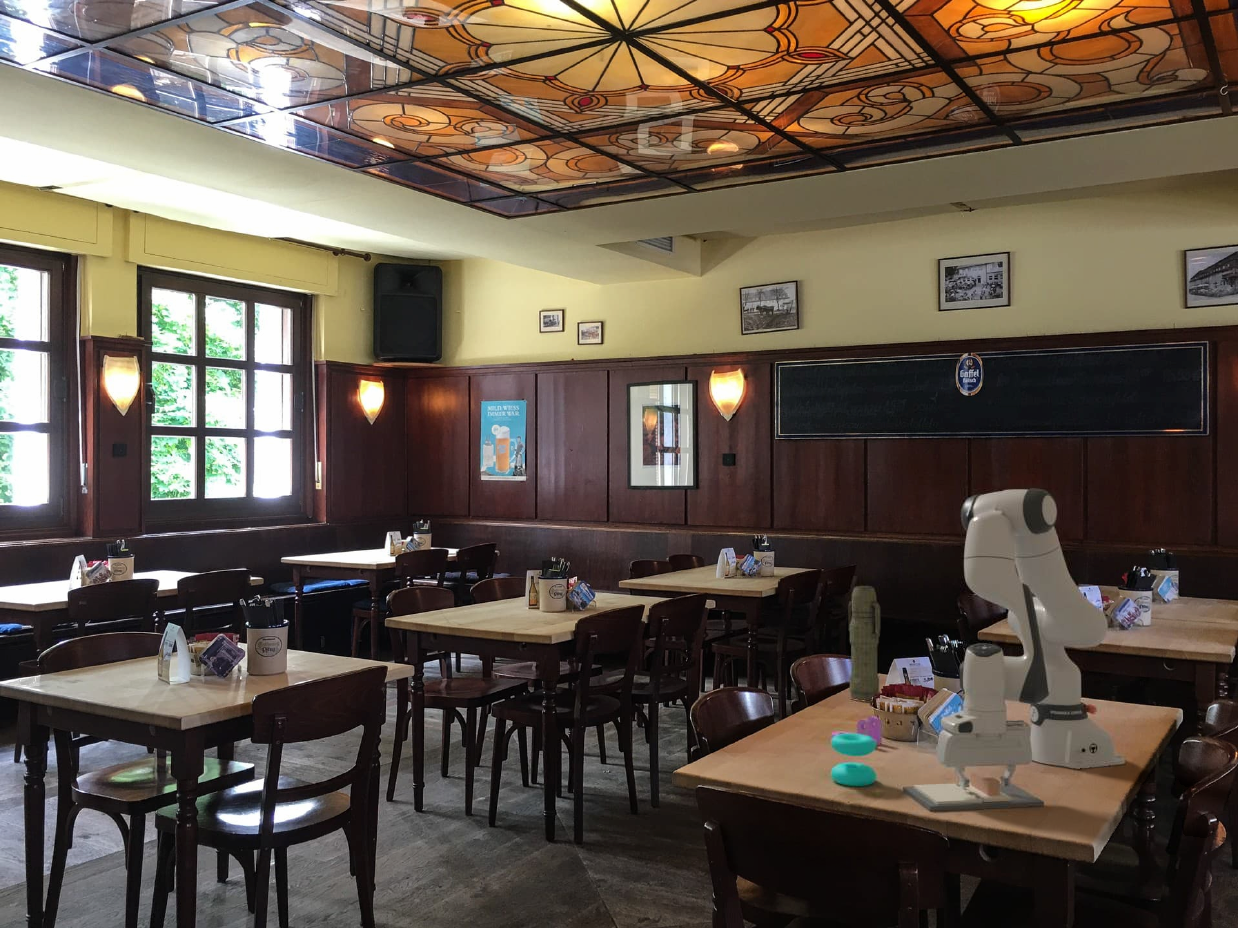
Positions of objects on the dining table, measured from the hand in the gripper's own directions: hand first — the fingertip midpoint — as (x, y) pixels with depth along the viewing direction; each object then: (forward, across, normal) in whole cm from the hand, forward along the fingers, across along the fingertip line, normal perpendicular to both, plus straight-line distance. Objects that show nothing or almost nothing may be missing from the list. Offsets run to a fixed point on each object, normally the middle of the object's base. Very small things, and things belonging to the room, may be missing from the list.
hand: (984, 785), depth 228 cm
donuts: (+3, +24, -16) cm, 29 cm away
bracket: (+3, +10, -52) cm, 53 cm away
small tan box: (+2, 0, 0) cm, 2 cm away
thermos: (+3, -12, -103) cm, 104 cm away
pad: (+3, +4, 0) cm, 4 cm away
